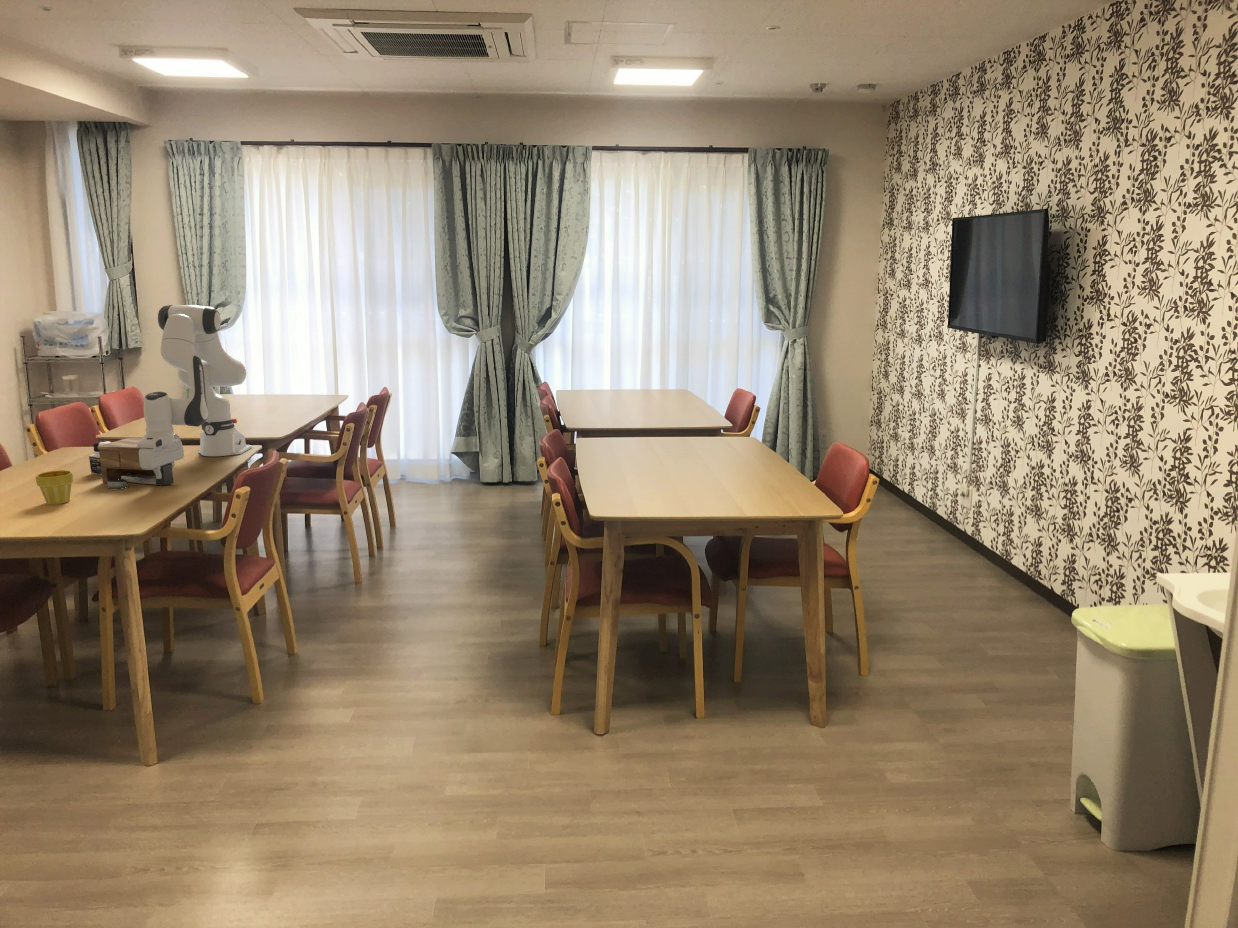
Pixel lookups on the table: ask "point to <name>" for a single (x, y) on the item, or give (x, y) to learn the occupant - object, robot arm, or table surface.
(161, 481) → the grey mallet
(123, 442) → the cabinet
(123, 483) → the steel puck
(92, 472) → the medicine bottle
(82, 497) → the table surface
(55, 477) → the plant pot
